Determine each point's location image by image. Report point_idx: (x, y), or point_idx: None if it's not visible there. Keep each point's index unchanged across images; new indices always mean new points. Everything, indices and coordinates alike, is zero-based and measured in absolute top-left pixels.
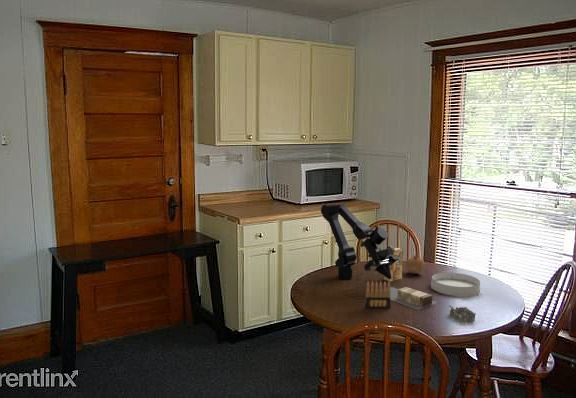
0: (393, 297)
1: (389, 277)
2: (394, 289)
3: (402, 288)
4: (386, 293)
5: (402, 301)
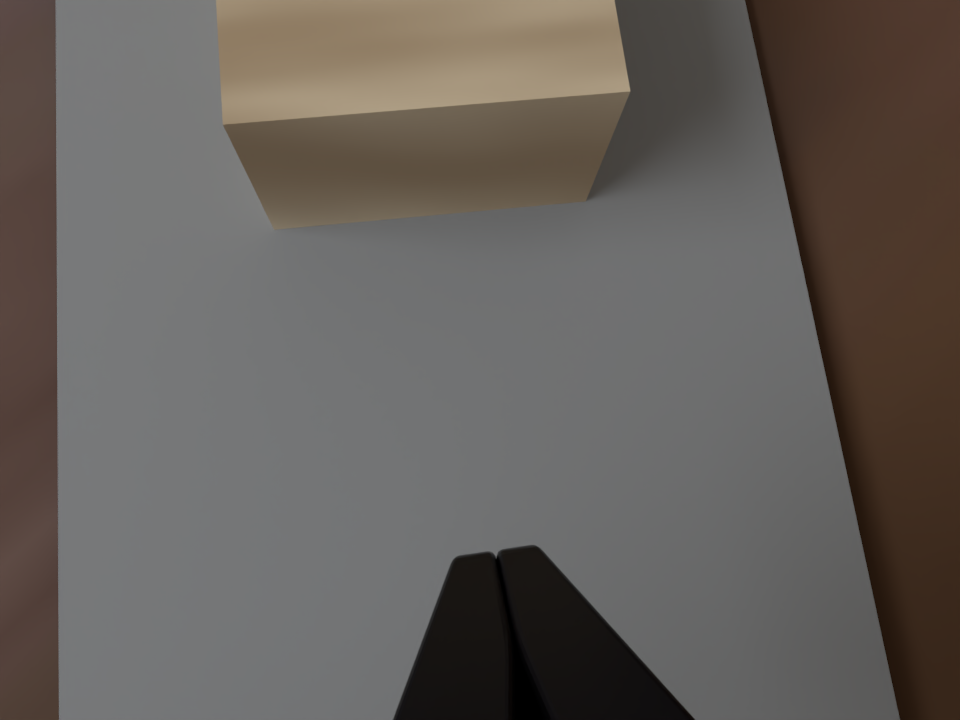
0: (631, 277)
1: (566, 597)
2: (171, 718)
3: (436, 84)
4: (592, 577)
5: (626, 12)
